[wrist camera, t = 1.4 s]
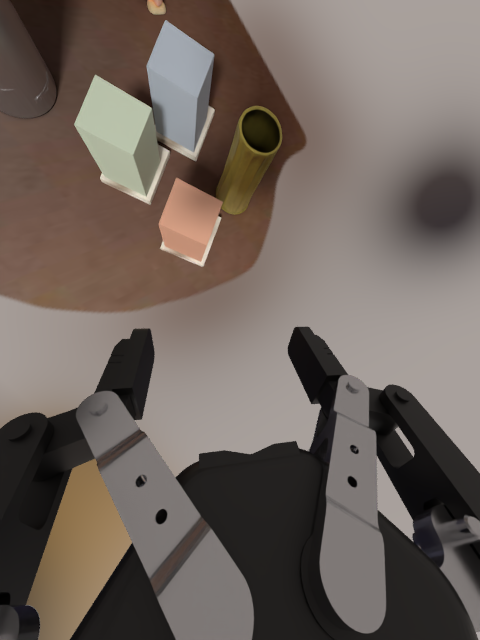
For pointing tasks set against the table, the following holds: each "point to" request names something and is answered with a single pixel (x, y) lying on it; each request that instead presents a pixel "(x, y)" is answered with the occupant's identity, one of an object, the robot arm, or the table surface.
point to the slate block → (180, 86)
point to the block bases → (164, 157)
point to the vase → (248, 158)
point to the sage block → (119, 135)
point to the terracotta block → (189, 220)
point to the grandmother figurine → (156, 7)
